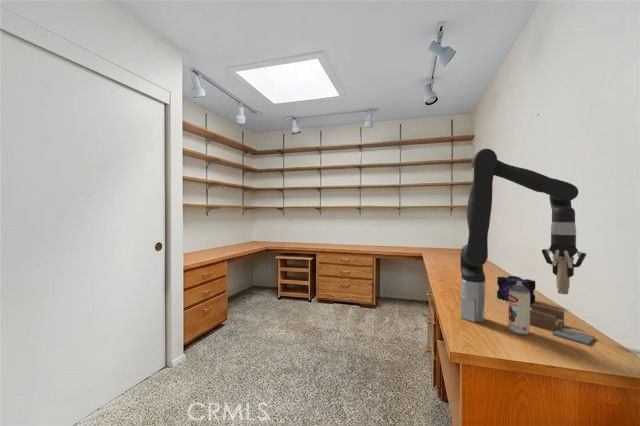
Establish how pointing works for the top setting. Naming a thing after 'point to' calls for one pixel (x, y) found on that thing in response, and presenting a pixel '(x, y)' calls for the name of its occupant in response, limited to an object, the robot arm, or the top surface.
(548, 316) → the frame
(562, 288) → the handle
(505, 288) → the energy cube
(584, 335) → the mat
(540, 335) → the top surface
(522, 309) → the aerosol can
